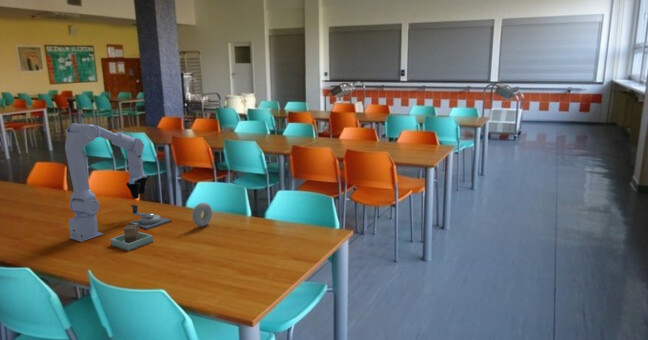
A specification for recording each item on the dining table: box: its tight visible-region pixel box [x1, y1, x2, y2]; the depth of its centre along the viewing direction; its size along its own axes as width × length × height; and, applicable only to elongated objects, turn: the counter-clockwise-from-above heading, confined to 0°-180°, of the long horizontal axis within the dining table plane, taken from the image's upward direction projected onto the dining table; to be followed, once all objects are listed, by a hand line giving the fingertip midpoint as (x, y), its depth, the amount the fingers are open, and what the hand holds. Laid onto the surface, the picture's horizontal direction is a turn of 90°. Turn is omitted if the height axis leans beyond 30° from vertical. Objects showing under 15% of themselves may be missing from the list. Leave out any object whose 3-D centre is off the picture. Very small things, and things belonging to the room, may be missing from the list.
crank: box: [130, 204, 155, 218], centre depth 204 cm, size 11×3×4 cm, turn 67°
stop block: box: [123, 224, 140, 243], centre depth 180 cm, size 4×4×6 cm
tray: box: [109, 231, 154, 252], centre depth 181 cm, size 11×11×2 cm
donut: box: [192, 202, 213, 227], centre depth 198 cm, size 10×4×10 cm, turn 151°
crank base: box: [128, 214, 172, 230], centre depth 204 cm, size 12×12×2 cm
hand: (138, 195), depth 211 cm, fingers open, 7 cm apart
